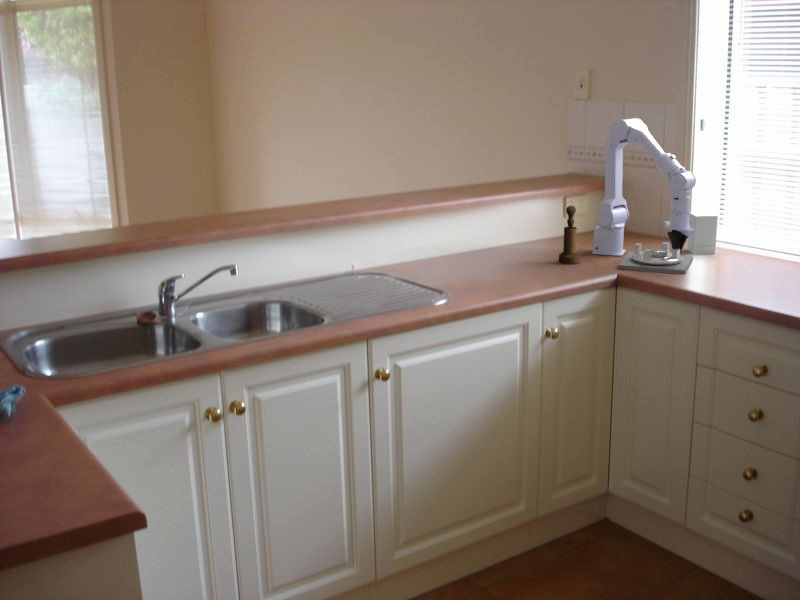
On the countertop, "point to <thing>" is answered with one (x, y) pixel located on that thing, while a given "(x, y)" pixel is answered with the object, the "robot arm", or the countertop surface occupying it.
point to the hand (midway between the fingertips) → (676, 254)
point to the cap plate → (675, 268)
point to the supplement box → (702, 233)
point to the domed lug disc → (656, 255)
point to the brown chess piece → (570, 240)
